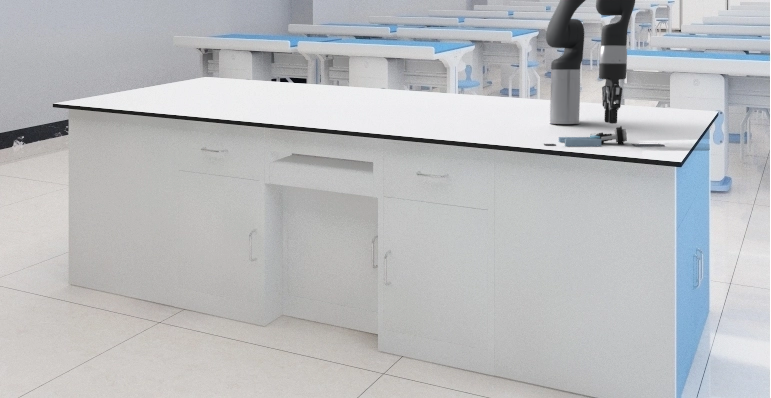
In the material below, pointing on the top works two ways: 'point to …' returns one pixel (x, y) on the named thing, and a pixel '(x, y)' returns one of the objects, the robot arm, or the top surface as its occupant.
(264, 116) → the top surface
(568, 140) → the channel
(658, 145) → the mat
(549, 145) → the trap plate
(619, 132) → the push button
